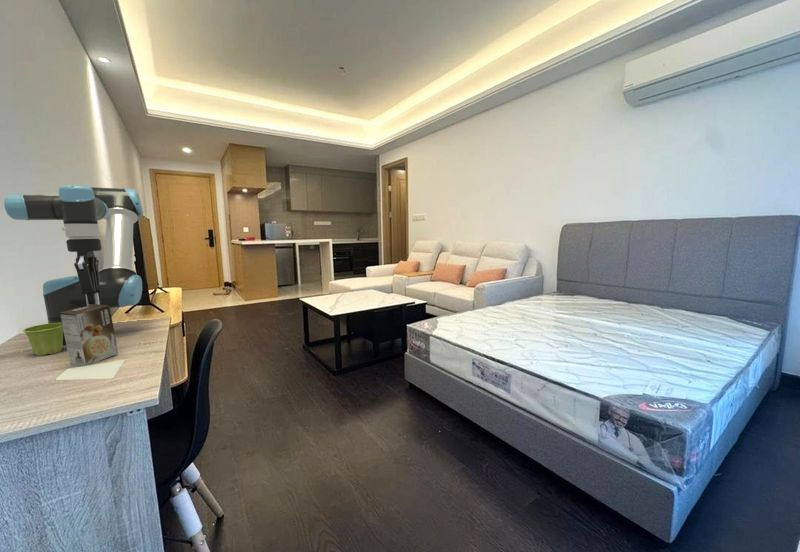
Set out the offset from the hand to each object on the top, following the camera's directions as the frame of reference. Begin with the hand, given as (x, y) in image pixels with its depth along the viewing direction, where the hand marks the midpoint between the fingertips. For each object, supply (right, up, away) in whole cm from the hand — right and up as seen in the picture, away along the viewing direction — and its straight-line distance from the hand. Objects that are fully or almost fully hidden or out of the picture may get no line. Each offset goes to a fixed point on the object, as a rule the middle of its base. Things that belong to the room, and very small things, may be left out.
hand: (94, 313), depth 102 cm
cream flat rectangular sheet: (+12, -15, -15) cm, 24 cm away
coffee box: (+3, -14, -3) cm, 14 cm away
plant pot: (-18, -13, +4) cm, 23 cm away
